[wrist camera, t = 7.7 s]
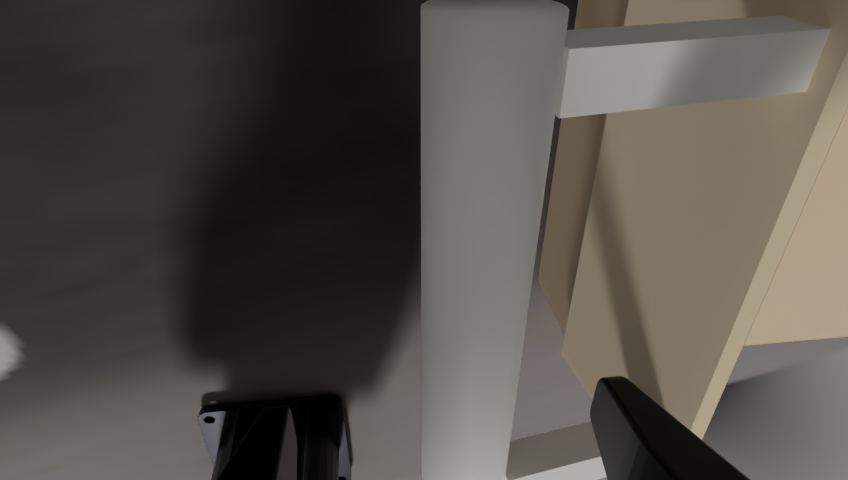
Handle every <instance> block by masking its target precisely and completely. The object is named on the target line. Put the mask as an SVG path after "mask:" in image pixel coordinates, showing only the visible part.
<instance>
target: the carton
mask: <svg viewBox="0 0 848 480" xmlns="http://www.w3.org/2000/svg"><path fill="white" fill-rule="evenodd" d="M628 1H629V0H578V6H577V13H576V20H575V27H574V30H576V29H590V28H605V27H619V26H624V22H625V17H626V12H627V7H628ZM606 117H607V113H605V114H596V115H587V116H577V117H568V118H561V124H560V131H559V138H558V145H557V152H556V158H555V165H554V172H553V179H552V186H551V193H550V200H549V207H548V214H547V221H546V228H545V235H544V242H543V249H542V255H541V262H540V269H539V276H538V281H539V283H540V285H541V287H542V289H543V291H544V294H545V296H546V298H547V300H548V302H549V304H550V306H551V308H552V311H553V313H554V315H555V317H556V319H557V321H558V323H559V326H560V328H561V330H562V332H563V334H564V336H565V331H566V326H567V321H568V316H569V310H570V305H571V300H572V295H573V289H574V284H575V279H576V274H577V268H578V263H579V258H580V253H581V247H582V242H583V237H584V232H585V227H586V221H587V216H588V211H589V206H590V200H591V195H592V190H593V185H594V179H595V174H596V169H597V164H598V158H599V153H600V148H601V143H602V137H603V132H604V127H605V122H606ZM836 337H848V106H847V109H846V111H845V113H844V116H843V118H842V120H841V122H840V125H839V127H838V129H837V132H836V134H835V136H834V138H833V141H832V143H831V145H830V148H829V150H828V152H827V154H826V157H825V159H824V161H823V164H822V166H821V168H820V170H819V173H818V175H817V177H816V180H815V182H814V184H813V187H812V189H811V191H810V193H809V196H808V198H807V200H806V203H805V205H804V207H803V209H802V212H801V214H800V216H799V219H798V221H797V223H796V225H795V228H794V230H793V232H792V235H791V237H790V239H789V242H788V244H787V246H786V248H785V251H784V253H783V255H782V258H781V260H780V262H779V264H778V267H777V269H776V271H775V274H774V276H773V278H772V280H771V283H770V285H769V287H768V290H767V292H766V294H765V297H764V299H763V301H762V303H761V306H760V308H759V310H758V313H757V315H756V317H755V319H754V322H753V324H752V326H751V329H750V331H749V333H748V335H747V338H746V340H745V342H744V345H756V344H767V343H779V342H790V341H802V340H813V339H825V338H836Z"/></svg>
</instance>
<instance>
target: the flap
mask: <svg viewBox="0 0 848 480" xmlns="http://www.w3.org/2000/svg"><path fill="white" fill-rule="evenodd" d="M568 17H569V8H568V7H567V6H565V5H564V4H562V3H559V2H556V1H553V0H428V1H426V2H424V3H423V4H422V5H421V479H422V480H598V479H601V478H605V477H607V476H606V473H605V469H604V465H603V462H602V458H601V455H600V451H599V448H598V444H597V441H596V437H595V434H594V430H593V427H592V423H591V422H587V423H583V424H579V425H575V426H571V427H567V428H563V429H559V430H555V431H551V432H547V433H543V434H538V435H534V436H530V437H526V438H522V439H518V440H514V441H510V439H511V432H512V425H513V417H514V410H515V403H516V395H517V388H518V381H519V374H520V366H521V359H522V352H523V344H524V337H525V330H526V323H527V315H528V308H529V301H530V293H531V286H532V279H533V272H534V264H535V257H536V250H537V242H538V235H539V228H540V221H541V213H542V206H543V199H544V191H545V184H546V177H547V170H548V162H549V155H550V148H551V140H552V133H553V126H554V119H555V115H556V116H557V117H558V118H568V117H577V116H587V115H596V114H605V113H607V117H606V122H605V127H604V132H603V137H602V143H601V148H600V153H599V158H598V164H597V169H596V174H595V179H594V185H593V190H592V195H591V200H590V206H589V211H588V216H587V221H586V227H585V232H584V237H583V242H582V247H581V253H580V258H579V263H578V268H577V274H576V279H575V284H574V289H573V295H572V300H571V305H570V310H569V316H568V321H567V326H566V331H565V336H564V342H563V347H562V352H561V355H562V357H563V358H564V360H565V361H566V363H567V364H568V366H569V367H570V369H571V370H572V372H573V373H574V375H575V376H576V378H577V379H578V381H579V382H580V384H581V385H582V387H583V388H584V390H585V391H586V393H587V394H588V396H589V397H590V399H591V400H592V401H593V397H594V393H595V389H596V385H597V382H598V380H599V379H600V378H603V377H612V376H623V377H625V378H627V379H628V380H630V381H631V382H632V383H633V384H635V385H636V386H637V387H638V388H639V389H641V390H642V391H643V392H644V393H645V394H647V395H648V396H649V397H650V398H652V399H653V400H654V401H655V402H656V403H658V404H659V405H660V406H661V407H663V408H664V409H665V410H666V411H667V412H669V413H670V414H671V415H672V416H673V417H675V418H676V419H677V420H678V421H680V422H681V423H682V424H683V425H684V426H686V427H687V428H688V429H689V430H690V431H692V432H693V433H694V434H695V435H697V436H698V437H699V438H700V439H701V440H702V438H703V436H704V434H705V431H706V429H707V427H708V425H709V423H710V420H711V418H712V415H713V413H714V411H715V409H716V406H717V404H718V402H719V400H720V397H721V395H722V393H723V390H724V388H725V386H726V384H727V381H728V379H729V377H730V374H731V372H732V370H733V368H734V365H735V363H736V361H737V358H738V356H739V354H740V352H741V349H742V347H743V345H744V342H745V340H746V338H747V335H748V333H749V331H750V329H751V326H752V324H753V322H754V319H755V317H756V315H757V313H758V310H759V308H760V306H761V303H762V301H763V299H764V297H765V294H766V292H767V290H768V287H769V285H770V283H771V280H772V278H773V276H774V274H775V271H776V269H777V267H778V264H779V262H780V260H781V258H782V255H783V253H784V251H785V248H786V246H787V244H788V242H789V239H790V237H791V235H792V232H793V230H794V228H795V225H796V223H797V221H798V219H799V216H800V214H801V212H802V209H803V207H804V205H805V203H806V200H807V198H808V196H809V193H810V191H811V189H812V187H813V184H814V182H815V180H816V177H817V175H818V173H819V170H820V168H821V166H822V164H823V161H824V159H825V157H826V154H827V152H828V150H829V148H830V145H831V143H832V141H833V138H834V136H835V134H836V132H837V129H838V127H839V125H840V122H841V120H842V118H843V116H844V113H845V111H846V109H847V106H848V0H629V1H628V7H627V12H626V17H625V22H624V26H619V27H605V28H590V29H576V30H567V24H568Z"/></svg>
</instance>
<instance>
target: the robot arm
mask: <svg viewBox="0 0 848 480" xmlns="http://www.w3.org/2000/svg"><path fill="white" fill-rule="evenodd" d="M331 405H333V406H331ZM590 417H591V423H592V427H593V430H594V434H595V437H596V441H597V444H598V448H599V451H600V455H601V458H602V462H603V465H604V469H605V473H606V476H607V479H608V480H750V479H749V478H748V477H746V476H745V475H744V474H743V473H741V472H740V471H739V470H738V469H737V468H735V467H734V466H733V465H732V464H731V463H729V462H728V461H727V460H726V459H724V458H723V457H722V456H721V455H720V454H718V453H717V452H716V451H715V450H713V449H712V448H711V447H710V446H709V445H707V444H706V443H705V442H704V441H702V440H701V439H700V438H699V437H698V436H697V435H695V434H694V433H693V432H692V431H690V430H689V429H688V428H687V427H686V426H684V425H683V424H682V423H681V422H680V421H678V420H677V419H676V418H675V417H673V416H672V415H671V414H670V413H669V412H667V411H666V410H665V409H664V408H663V407H661V406H660V405H659V404H658V403H656V402H655V401H654V400H653V399H652V398H650V397H649V396H648V395H647V394H645V393H644V392H643V391H642V390H641V389H639V388H638V387H637V386H636V385H635V384H633V383H632V382H631V381H630V380H628V379H627V378H625V377H623V376H612V377H603V378H600V379H599V380H598V382H597V385H596V389H595V393H594V397H593V401H592V405H591V410H590ZM198 422H199V425H200V428H201V431H202V434H203V437H204V440H205V443H206V446H207V449H208V451H209V454H210V457H211V460H212V463H213V466H214V470H213V474H212V479H211V480H351V466H350V458H349V449H348V441H347V432H346V424H345V415H344V407H343V400H342V398H341V397H340V396H337V395H322V396H310V397H299V398H288V399H277V400H266V401H254V402H243V403H232V404H221V405H210V406H205V407H203V408H202V409H201V410H200V413H199V416H198Z"/></svg>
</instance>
